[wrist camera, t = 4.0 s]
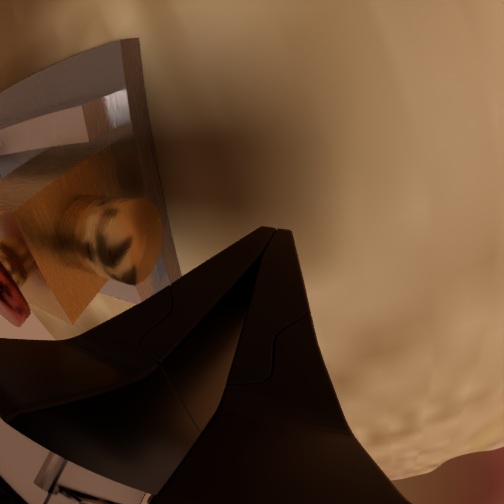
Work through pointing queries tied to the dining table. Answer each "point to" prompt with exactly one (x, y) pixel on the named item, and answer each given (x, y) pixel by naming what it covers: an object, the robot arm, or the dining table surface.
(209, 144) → the dining table surface
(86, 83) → the grey metal channel
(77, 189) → the valve
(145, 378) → the robot arm
